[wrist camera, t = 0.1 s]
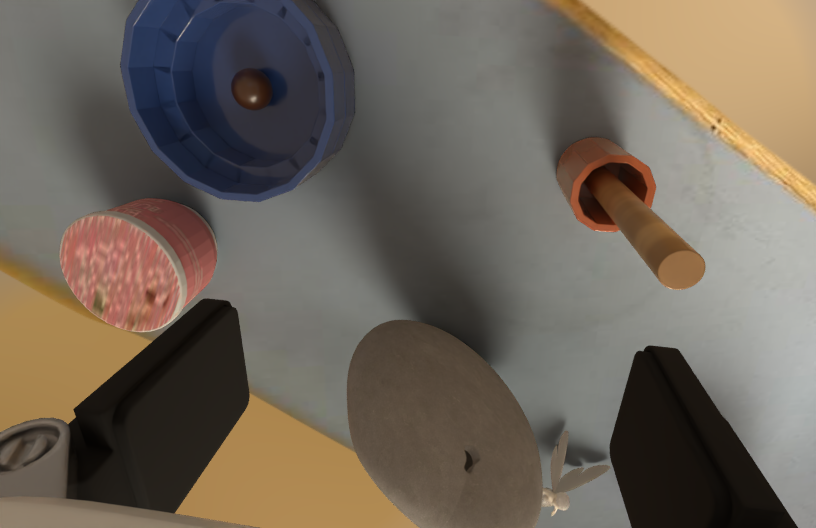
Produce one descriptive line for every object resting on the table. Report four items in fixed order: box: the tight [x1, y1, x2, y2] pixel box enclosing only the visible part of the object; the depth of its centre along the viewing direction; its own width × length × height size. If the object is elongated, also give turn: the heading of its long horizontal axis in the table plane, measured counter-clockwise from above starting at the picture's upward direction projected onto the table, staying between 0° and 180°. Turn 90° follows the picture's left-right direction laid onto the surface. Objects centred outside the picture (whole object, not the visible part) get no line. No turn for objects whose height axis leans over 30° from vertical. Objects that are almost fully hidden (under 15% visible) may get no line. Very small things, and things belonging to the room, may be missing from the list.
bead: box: [231, 68, 273, 110], centre depth 35 cm, size 3×3×3 cm
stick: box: [583, 165, 705, 290], centre depth 27 cm, size 2×2×18 cm
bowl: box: [120, 0, 355, 202], centre depth 34 cm, size 15×15×6 cm
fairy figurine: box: [541, 431, 610, 516], centre depth 47 cm, size 6×7×7 cm
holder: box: [556, 137, 656, 232], centre depth 32 cm, size 5×5×7 cm
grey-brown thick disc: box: [347, 320, 543, 528], centre depth 36 cm, size 18×7×19 cm, turn 51°
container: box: [59, 198, 217, 332], centre depth 40 cm, size 10×10×8 cm
